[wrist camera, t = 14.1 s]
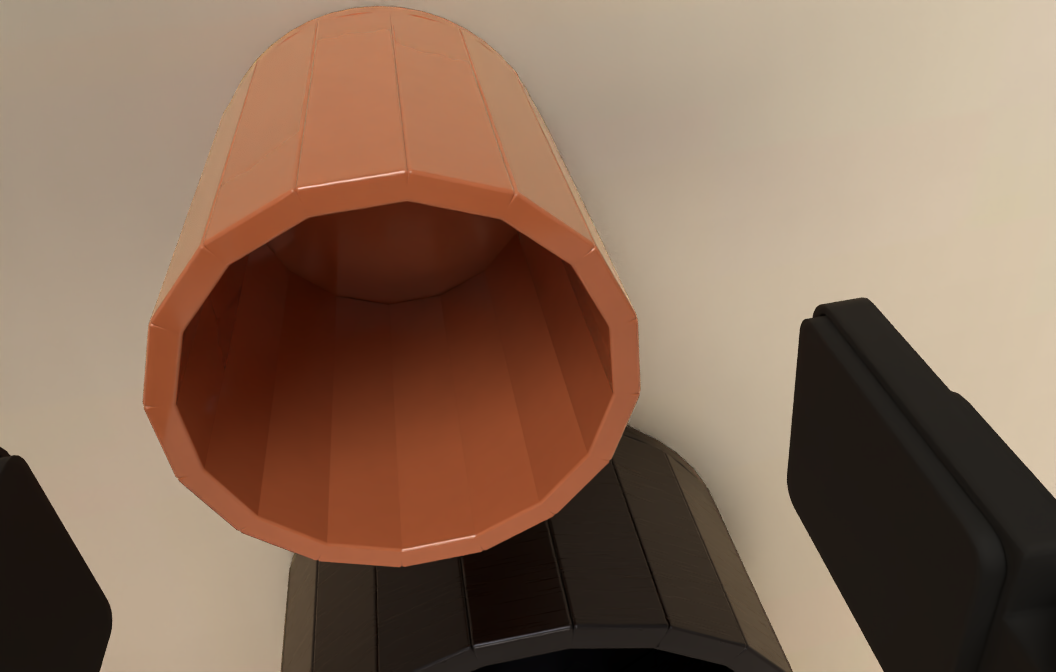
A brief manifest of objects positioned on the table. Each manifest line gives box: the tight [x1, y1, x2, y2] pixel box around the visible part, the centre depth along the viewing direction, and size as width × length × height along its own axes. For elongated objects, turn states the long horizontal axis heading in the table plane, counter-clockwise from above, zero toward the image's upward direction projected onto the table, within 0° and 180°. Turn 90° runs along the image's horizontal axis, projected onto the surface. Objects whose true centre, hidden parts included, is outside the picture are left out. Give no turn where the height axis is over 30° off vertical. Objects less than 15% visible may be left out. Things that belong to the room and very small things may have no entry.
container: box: [143, 6, 641, 567], centre depth 15 cm, size 6×6×8 cm
